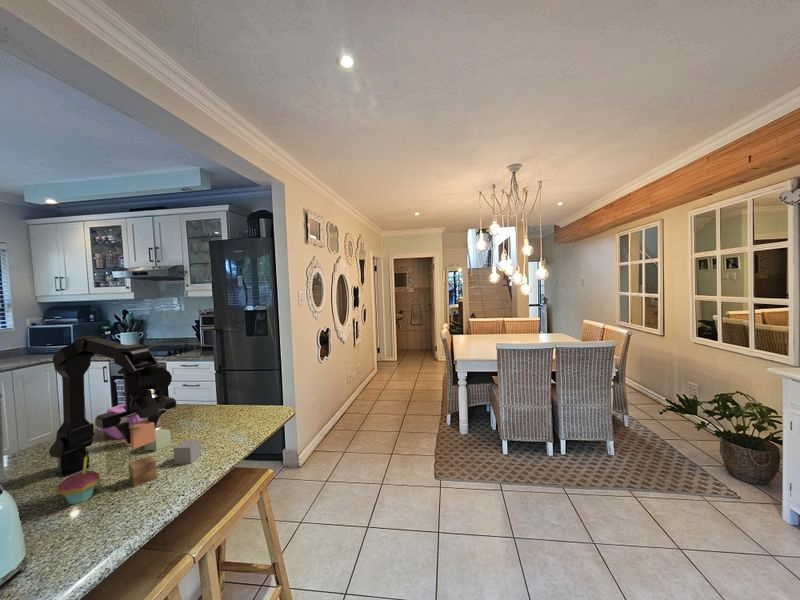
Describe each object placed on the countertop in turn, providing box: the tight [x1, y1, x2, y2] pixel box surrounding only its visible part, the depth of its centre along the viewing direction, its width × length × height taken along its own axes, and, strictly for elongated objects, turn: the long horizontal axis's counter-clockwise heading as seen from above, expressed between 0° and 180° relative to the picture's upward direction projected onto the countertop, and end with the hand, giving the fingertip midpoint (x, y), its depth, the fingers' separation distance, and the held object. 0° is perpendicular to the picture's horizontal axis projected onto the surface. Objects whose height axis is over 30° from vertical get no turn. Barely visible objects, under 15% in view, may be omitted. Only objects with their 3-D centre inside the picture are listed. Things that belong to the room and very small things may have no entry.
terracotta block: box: [124, 420, 156, 449], centre depth 102 cm, size 6×6×6 cm
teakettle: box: [96, 401, 143, 440], centre depth 139 cm, size 17×17×12 cm
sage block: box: [144, 428, 172, 452], centre depth 124 cm, size 6×6×6 cm
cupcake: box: [56, 454, 101, 505], centre depth 93 cm, size 9×8×12 cm
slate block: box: [172, 439, 202, 465], centre depth 113 cm, size 6×6×6 cm
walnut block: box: [128, 455, 158, 488], centre depth 102 cm, size 6×6×6 cm
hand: (140, 439), depth 102 cm, fingers closed on terracotta block, 5 cm apart
